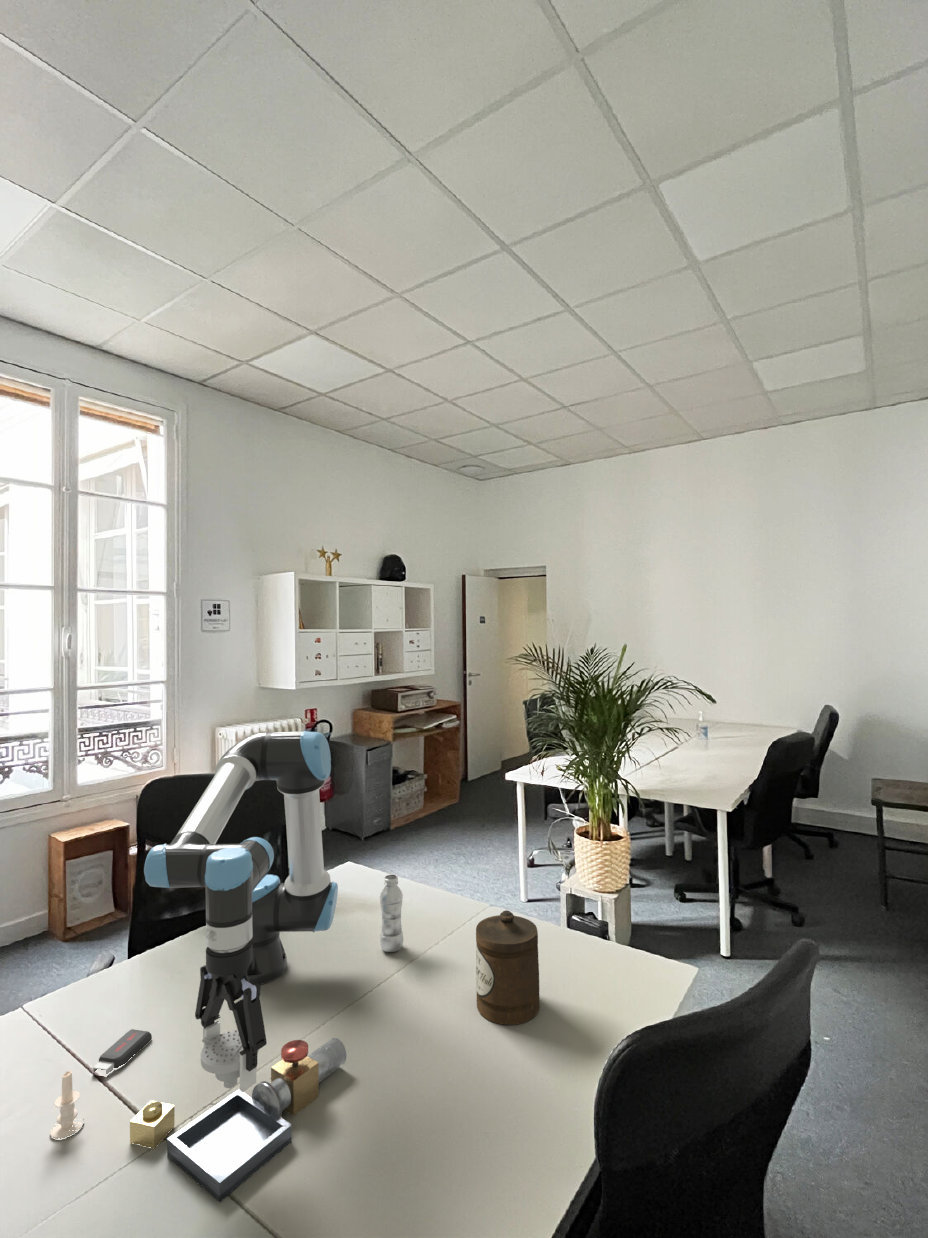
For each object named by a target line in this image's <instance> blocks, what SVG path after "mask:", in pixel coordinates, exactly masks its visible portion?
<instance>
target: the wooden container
mask: <svg viewBox="0 0 928 1238" xmlns="http://www.w3.org/2000/svg"><path fill="white" fill-rule="evenodd" d="M538 933H539V932H538V927H537V925H536V924H535V923H534V922H533V921H532V920H530V919H527V918H525V917H522V916H517V915H515V914H513V912H511V911H510V910H503V911H502V912H500V914H499V915H493V916H489V917H486V918H484V919H482V920H480V921H479V922H478V923H477V925H476V928H475V941H476V943H475V944H476V951H475V952H476V953H475V954H476V958H475V960H476V961H475V964H476V965H475V970H476V971H475V981H476V982H475V984H476V988H475V989H476V1008H477V1010H478V1012H479V1014H480V1015H481V1016H482V1017H483V1018H484V1019H486V1020H488V1021H489V1022H490V1021H491V1022H492V1023H496V1024H500V1025H506V1026H507V1025H509V1026H510V1025H511V1026H512V1025H520V1024H524V1023H527V1022H529V1021H531V1020H533V1019H534V1018H535V1017H536V1016H537V1015H538V1014H539V1010H540V1008H541V1007H540V1006H541V1005H540V967H539V966H540V965H539V964H540V963H539V962H540V961H539V946H538V945H539V934H538Z"/></svg>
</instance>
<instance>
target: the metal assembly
mask: <svg viewBox="0 0 928 1238" xmlns="http://www.w3.org/2000/svg"><path fill="white" fill-rule="evenodd" d="M280 1049H281V1050H280V1058H281V1060H279V1061H278V1062H276V1063H275V1064H274V1065H272V1066H270V1076H271V1077H270V1082H268V1081H266V1080H265V1081H264V1080H263V1081H260V1082H259V1083H256V1084H255V1086H254V1087H253V1089H252V1092H251V1096H250V1095H249V1094H247V1093H246V1092H245V1091H244V1092H241V1091H240V1088H238V1089H237V1090H235V1091H233V1092H232V1093H230V1094H228V1096H226V1097H225V1098H224V1099H222V1100H221V1101H219V1102H217V1104H215V1105H214V1106H212V1107H210V1108H209V1109H208V1110H206V1111H204V1112H203V1113H202V1114H201V1115H199V1116H198V1117H196V1118H195V1119H193V1120H192V1121H190V1122H189V1123H188V1124H186V1125H185V1126H183V1127H181V1129H179V1130H177V1131H176V1132H175V1133H173V1134H172V1135H170V1136H169V1137H167V1138H166V1141H167V1142H166V1147H167V1148H166V1152H167V1155H166V1157H167V1158H168V1159H170V1161H172V1162H173V1164H175V1165H177V1166H178V1167H179V1168H180V1169H181V1170H182V1171H183V1172H184V1173H185V1174H186V1175H187V1176H189V1177H190V1178H191V1179H192V1180H194V1181H195V1182H196V1183H197V1184H198V1185H199V1186H200V1187H201V1188H203V1189H204V1190H205V1191H206V1192H207V1193H208V1194H209V1195H210V1196H211V1197H213V1198H214V1199H215V1200H216V1201H217V1202H219V1203H221V1202H222V1201H224V1199H226V1198H227V1197H228V1196H229V1195H231V1194H232V1193H233V1192H234V1191H235V1190H237V1189H238V1188H239V1187H240V1186H241V1185H243V1184H244V1183H245V1182H246V1181H247V1180H249V1178H251V1177H252V1176H253V1175H254V1174H255V1173H257V1172H258V1171H259V1170H260V1169H261V1168H263V1167H264V1166H265V1165H266V1164H267V1163H269V1162H270V1161H271V1160H272V1159H273V1158H275V1157H276V1156H277V1155H278V1154H279V1153H281V1152H282V1151H283V1150H284V1149H285V1148H287V1147H288V1146H289V1145H290V1144H291V1143H292V1142H293V1141H292V1139H293V1138H292V1135H293V1134H292V1124H291V1123H290V1122H289V1121H287V1120H285V1119H284V1118H283V1117H282V1112H283V1111H284V1112H286V1113H288V1114H289V1115H291V1116H292V1117H295V1116H296V1115H297V1114H298V1113H300V1112H301V1111H303V1110H304V1109H305V1108H306V1107H308V1105H310V1104H312V1103H313V1101H315V1100H316V1099H317V1098H319V1097H320V1096H319V1094H320V1093H319V1092H320V1090H319V1089H320V1088H319V1087H320V1086H319V1083H321V1081H323V1080H324V1079H325V1078H327V1077H328V1076H329V1075H331V1074H332V1073H333V1072H335V1071H337V1069H339V1068H340V1067H341V1066H342V1065H343V1064H345V1063H346V1061H347V1054H348V1053H347V1049H346V1047H345V1045H344V1043H343V1042H342V1040H340V1039H339V1038H338V1037H332V1038H331V1039H329V1040H328V1041H327V1042H325V1043H324V1044H323V1045H321V1046H320V1047H318V1048H317V1049H316V1050H314V1051H313V1052H312V1053H310V1054H309V1043H308V1042H307V1041H305V1040H302V1039H294V1040H291V1041H288V1042H287V1043H285V1044H284V1045H282V1047H281V1048H280ZM308 1054H309V1055H308Z"/></svg>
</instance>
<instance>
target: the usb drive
mask: <svg viewBox="0 0 928 1238" xmlns="http://www.w3.org/2000/svg"><path fill="white" fill-rule="evenodd" d="M152 1037H153V1036H152V1033H150V1031H147V1030H139V1029H133V1028H132V1029H130V1030H128V1031H127V1032H125V1034H124V1035H123V1036H121V1037H120V1038H119V1039H118V1040H116V1042H114V1044H113V1045H111V1046H110V1047H109V1048H108V1049H106V1050H105V1051H104V1052H103V1053H101V1055H100V1056H99V1058H98V1062H97V1063H96V1064H95V1065H94V1066H93V1067H92V1074H93V1073H94V1072H95V1071H96V1070H97V1069H101V1070H106V1074H108V1073H109V1072H111V1071H112V1070H113V1068H118V1067H119V1066H121V1065H123V1064H125V1063H126V1062H127V1061H128V1060H129V1059H130V1058H131V1057H133V1055H134V1054H136V1053H137V1052H138V1051H139V1050H140V1049H141V1050H143V1049H144V1048H145V1047H146V1046H147V1045H148V1044H149V1043H150V1042H151V1041H152V1040H153V1038H152ZM151 1039H152V1040H151ZM150 1040H151V1041H150ZM149 1041H150V1042H149ZM148 1042H149V1043H148ZM147 1043H148V1044H147ZM146 1044H147V1045H146ZM145 1045H146V1046H145ZM144 1046H145V1047H144ZM143 1047H144V1048H143ZM142 1048H143V1049H142ZM141 1050H140V1051H141ZM140 1051H139V1052H140ZM139 1052H138V1053H139ZM138 1053H137V1054H138ZM137 1054H136V1055H137ZM133 1058H134V1057H133Z"/></svg>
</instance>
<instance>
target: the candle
mask: <svg viewBox="0 0 928 1238" xmlns="http://www.w3.org/2000/svg"><path fill="white" fill-rule="evenodd" d="M72 1073H73V1071H72V1070H67V1071H66V1072H65V1073H63V1075H62V1078H61V1079H62V1080H61V1095H58V1097H57V1098H56V1099H55V1100H54V1104H53V1105H54V1106H55V1107H56V1108H59V1114H58V1116H57V1117H56V1123H58V1124H56V1123H55V1124H54V1125H56V1127H53V1126H52V1127H53V1130H52V1129H51V1128H50V1131H49V1136H50V1135H51V1136H53V1138H55V1139H58V1138H60V1139H61V1138H65V1137H67V1136H70V1135H72V1134H74V1133H75V1132H76V1131H75V1130H78V1129H80V1128H81V1126H77V1127H75V1125H82V1123H81V1122H78V1123H76V1122H74V1123H73V1121H74V1120H76V1119H75V1118H76V1117H77V1115H79V1114H78V1113H79V1112H78V1109H76V1108H75V1103H76V1102H77V1101H78V1100H79V1099H80V1098H81V1094H80V1092H79V1091H76V1090H73V1074H72ZM78 1120H79V1119H78ZM80 1120H81V1119H80ZM57 1125H58V1126H57ZM72 1125H73V1127H72ZM69 1130H70V1131H69ZM72 1130H74V1131H72Z"/></svg>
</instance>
